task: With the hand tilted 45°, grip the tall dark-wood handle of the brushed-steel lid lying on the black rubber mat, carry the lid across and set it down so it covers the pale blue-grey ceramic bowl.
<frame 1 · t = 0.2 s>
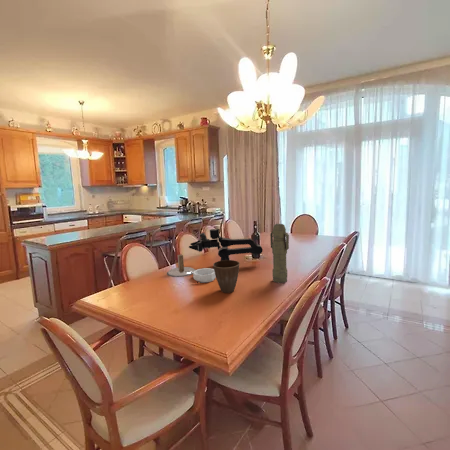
hand: (189, 245, 207), 17 cm above the table, tool horizontal, fingers open, 9 cm apart
stone statue: (280, 280, 175), on the table
plant pot: (227, 291, 163), on the table
mat: (181, 273, 197), on the table
lid: (181, 272, 197), point 1 cm above the table, touching mat
bowl: (204, 279, 184), on the table
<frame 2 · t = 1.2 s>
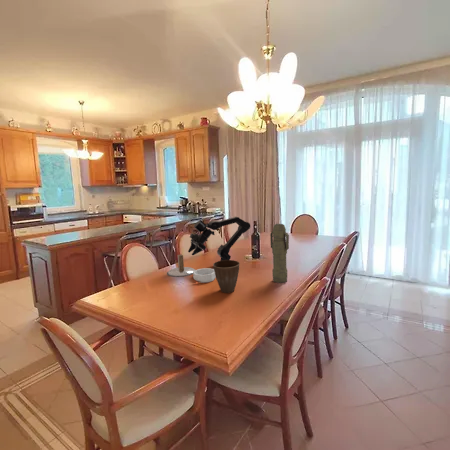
hand: (190, 253, 198), 13 cm above the table, tool tilted 45°, fingers open, 9 cm apart
nothing on the table moved.
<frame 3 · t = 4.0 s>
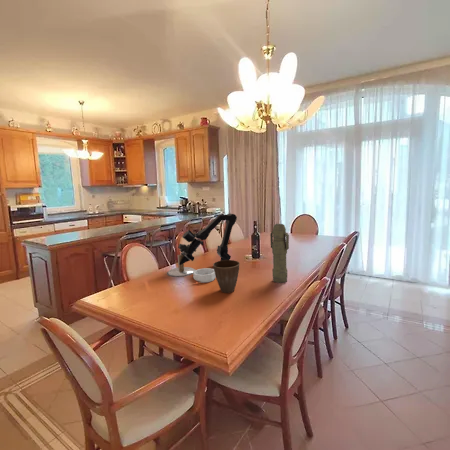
hand: (178, 264, 196), 7 cm above the table, tool tilted 45°, fingers closed on lid, 3 cm apart
lid: (181, 272, 197), point 1 cm above the table, touching gripper, mat
everything else where it was.
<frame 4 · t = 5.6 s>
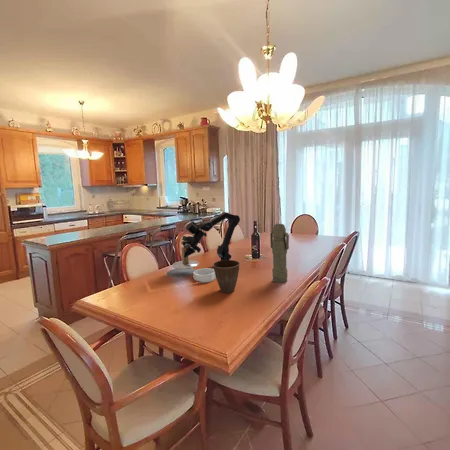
hand: (183, 256, 189), 13 cm above the table, tool tilted 45°, fingers closed on lid, 3 cm apart
lid: (185, 265, 191), point 8 cm above the table, touching gripper
everything else where it was.
when the fingers open (12 cm above the table, at t = 7.3 s): lid stays where it is, resting on bowl.
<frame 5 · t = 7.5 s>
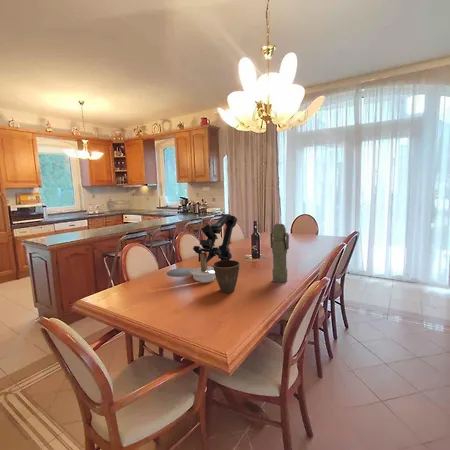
hand: (202, 261, 181), 12 cm above the table, tool tilted 45°, fingers open, 5 cm apart
lid: (204, 271, 183), point 5 cm above the table, touching bowl
everything else where it was.
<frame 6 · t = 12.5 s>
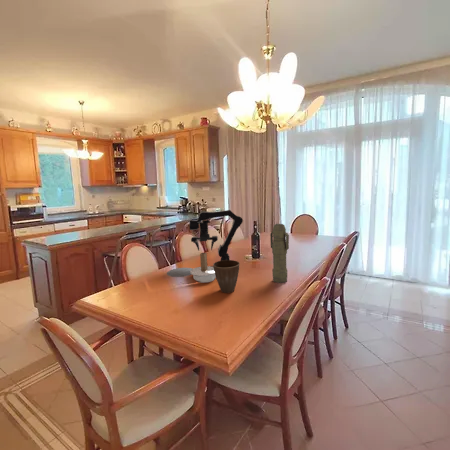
hand: (205, 250, 206), 13 cm above the table, tool pointing down, fingers open, 9 cm apart
nothing on the table moved.
at the end: lid 0.0 cm off-centre on the bowl, point 5.0 cm above the bowl's base; lid tilted 0°; lid touching bowl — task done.
